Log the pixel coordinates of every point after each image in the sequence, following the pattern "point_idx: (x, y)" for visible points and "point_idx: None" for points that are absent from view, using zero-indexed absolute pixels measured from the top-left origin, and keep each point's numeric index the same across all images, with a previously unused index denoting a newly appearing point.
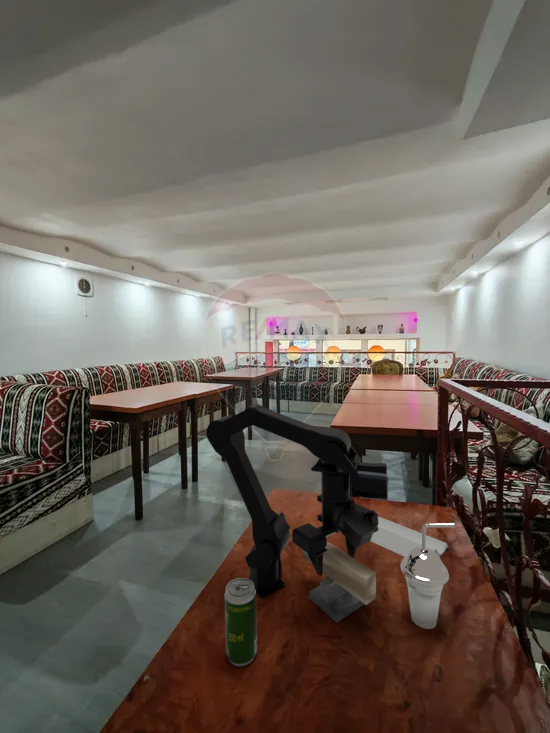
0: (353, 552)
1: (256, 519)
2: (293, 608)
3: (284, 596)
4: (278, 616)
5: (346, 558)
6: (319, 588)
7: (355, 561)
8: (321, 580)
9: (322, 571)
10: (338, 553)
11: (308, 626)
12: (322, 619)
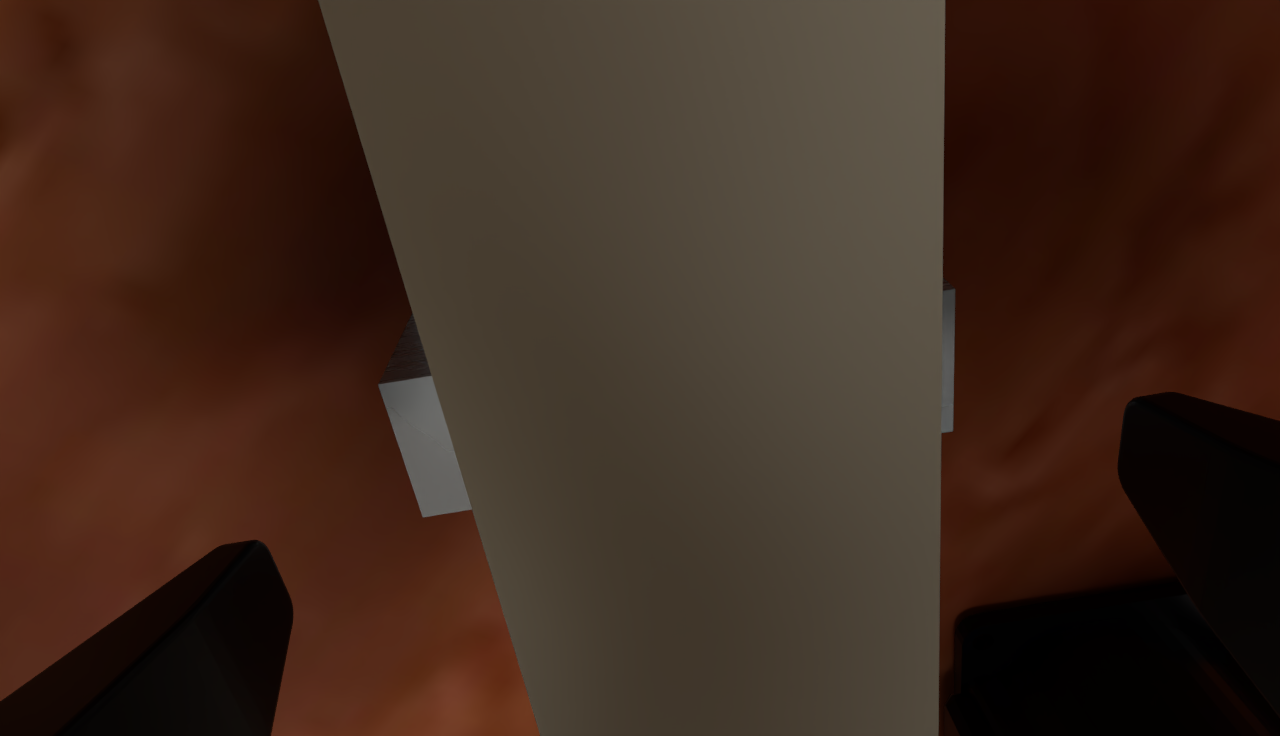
0: (176, 639)
1: None
2: (1081, 369)
3: (1043, 522)
4: (1261, 345)
5: (648, 443)
6: None
7: (464, 158)
8: (943, 418)
9: (1201, 433)
10: (704, 700)
11: (1135, 101)
12: (948, 113)
